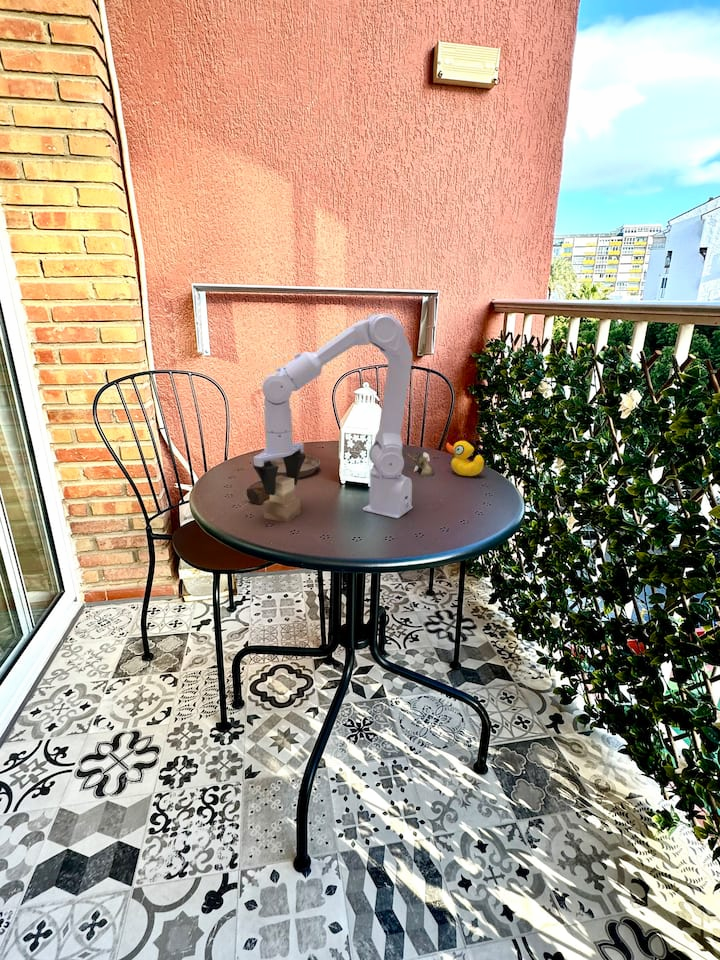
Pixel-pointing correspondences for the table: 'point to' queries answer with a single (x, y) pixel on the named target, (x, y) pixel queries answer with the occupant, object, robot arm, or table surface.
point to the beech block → (283, 490)
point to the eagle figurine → (423, 464)
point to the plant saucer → (306, 468)
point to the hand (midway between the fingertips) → (281, 489)
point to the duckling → (465, 459)
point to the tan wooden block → (281, 510)
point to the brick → (257, 493)
